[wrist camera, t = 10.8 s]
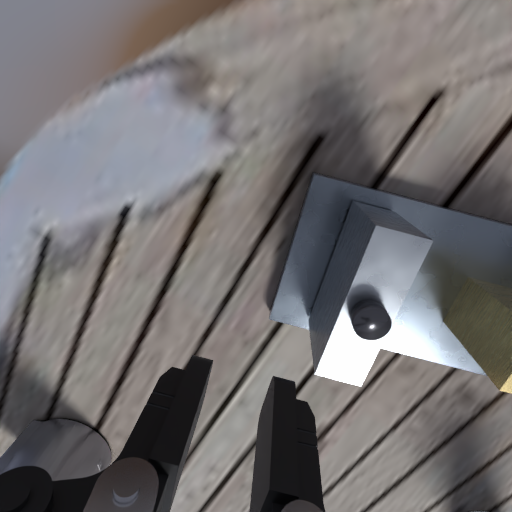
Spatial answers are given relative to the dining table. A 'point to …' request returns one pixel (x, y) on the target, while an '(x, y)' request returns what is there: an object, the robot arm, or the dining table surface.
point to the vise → (426, 281)
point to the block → (485, 328)
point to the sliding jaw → (363, 290)
